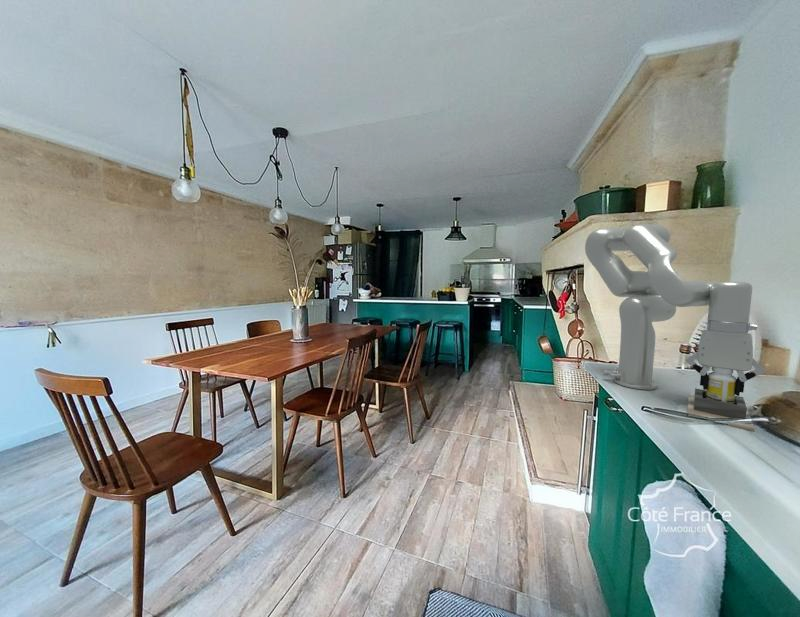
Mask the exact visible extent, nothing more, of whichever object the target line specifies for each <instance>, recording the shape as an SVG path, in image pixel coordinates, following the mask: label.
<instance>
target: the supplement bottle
mask: <svg viewBox="0 0 800 617" xmlns="http://www.w3.org/2000/svg"><path fill="white" fill-rule="evenodd" d="M711 371H712V372H709V373H707V375H708V382H707V391H706V398H707V399H711V400H716V401H721V402H726V403H731V404H734V400H735V396H736V395H735V388H736V379H737V377H736V376H734V375H733V374H734V370H730V369H724V368H716V367H711Z"/></svg>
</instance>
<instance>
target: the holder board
mask: <svg viewBox="0 0 800 617" xmlns="http://www.w3.org/2000/svg"><path fill="white" fill-rule="evenodd" d="M706 391H707V390H703V389H701V388H695V389H694V395H687V396H688V397H687V409H686V410H687V412H686V415H687V414H689V415H695V416H700V417H708V418H742V419H746V414H747V412H748V411H749V409H748V406H747V405H746V401H745V399H744V397H743V396H740V395H739V396H737V395H735V400H734V404H731V403H726V402H721V401H716V400H711V399H707V398H706ZM726 422H729V421H726ZM728 425H729V427H734V428H737V429H740V430H741V429H742V430H746V431H751V432H755V426H754V423H753V424H745V423H734V422H729V424H728ZM728 425H727V426H728Z"/></svg>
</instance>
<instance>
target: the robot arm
mask: <svg viewBox="0 0 800 617" xmlns="http://www.w3.org/2000/svg"><path fill="white" fill-rule="evenodd" d="M670 238H671V233H670V230H668V229H667V227H666V226H663V225H660V224H646V223H644V224H641V223H640V224H635V225H632V226H630V227H628V228H627V227H626V228H620V227H617V228H616V227H604V228H603V227H602V228H598V229H595V230H593V231H592V232H590V234H588V235H587V238H586V239H585V244H584V250H585V255H586V257H587V259H588V260H589V263H590V264H591V265H592V266H593V267H594V268H595V270H596V271H597V272H598V274H599V275H600V278H601V279H602V281H603V282H604V284H605V285H606V287H607V288H608V290H609V291H610V293H611V294H612V295H614V296H615V297H618V298H625V299H624V300H622V301H621V303H620V305H619V307H618V309H619V310H618V312H619V319H620V346H619V358H618V360H619V361H618V367H615V369H612V370H609V369H608V370H607V369H603V370H602V375H603V376H608V377H610V378H612V381H613V382H614V383H615V384H617V385H619V386H623V387H625V388H629V389H636V390H641V391H642V390H643V391H644V390H645V391H646V390H647V391H651V390H656V389H658V386H659V385H658V383H657V382H656V381H654V380H653V374H654V372H653V371H654V364H655V362H654V361H655V348H656V332H655V331H656V330H655V328H654V324H653V323H654V322H655V323H657V322H665V321H668V320H670V319H672V318H673V317H674V316H675V314H676V313H677V307H678V308H689V307H708V309H707V320H706V323H707V324H706V329H702V332H701V333H700V334H701V335H700V338H699V341H698V347H697V351H696V352H694V353H692V354H691V355H690V356H688V357H686V358H685V360H684V361H685V362H686V364H688V365H689V366H690V367H692V368H693V369H694V370H695V371H696V372H697V373H698V374H699V375H700V379H699V386H702V390H707V382H708V372H709V370H710V369H711V368H712V367H716V368H724V369H730V370H733V371H736V373H737V374H736V375H737V377H736V388H735V396H739V397H740V393H744V391H745V390H744V389H745V383H746V382H747V381H749V380H751V379H753V378H756V377H758V376H760V375H763V374H765V373H767V370H766V368H765V367H763V366H762V365H761V364H760V363H759V362H758V361H757V360H755V359H754V346H753V336H752V333H749V332H750V331H757V329H758V325H757V324H752V323H751V322H750V315H751V307H752V306H751V305H752V298H753V297H752V295H753V286H752V284H751V283H749V282H745V281H744V282H743V281H719V282H718V281H711V280H685V279H683V278H682V276H680V275H679V274H678V273H677V272H676V271H675V269H674V268H673V266H672V265H671V264H672V263H673V262H674V261H675V260H676V258H677V256H678V252H677V250H676V249H675V248H674V247H672V246H671V245H670V244H669V242H670V240H671V239H670ZM614 251H615V252H617V251H618V252H619V251H620V252H621V251H622V252H625V251H627V252H628V251H630V252H631V253H632V254H633V255H634V256H635V257H636V258H637V259H638V260H639V261H640V262H641V263H642V264H643V266H644V267H646V269H647V271H645V270H631V269H630V268H629V267H628V266H627V265H626V264H625V262H624V261H623V259H622V258H621V257H620V256H618V255H617V254H615V253H614ZM695 360H697V363H696V361H695ZM699 364H700V365H701V366H700V365H699ZM752 368H755V369H753V370H752ZM747 371H748V372H747ZM745 372H746V373H745Z"/></svg>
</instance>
